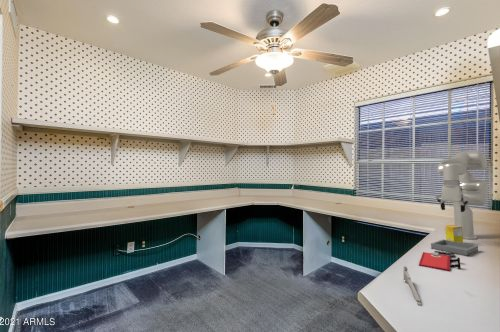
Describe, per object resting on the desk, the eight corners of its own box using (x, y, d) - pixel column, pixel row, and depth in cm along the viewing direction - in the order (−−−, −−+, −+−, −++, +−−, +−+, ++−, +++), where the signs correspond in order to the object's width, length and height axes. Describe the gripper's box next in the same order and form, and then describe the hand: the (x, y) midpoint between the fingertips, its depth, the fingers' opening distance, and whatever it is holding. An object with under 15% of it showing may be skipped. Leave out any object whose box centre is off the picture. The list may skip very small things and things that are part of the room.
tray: (443, 244, 147) (443, 239, 147) (478, 251, 133) (477, 245, 133) (431, 248, 139) (430, 243, 139) (466, 256, 125) (466, 250, 125)
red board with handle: (459, 255, 126) (424, 251, 136) (459, 250, 126) (424, 246, 136) (461, 275, 103) (419, 267, 113) (460, 268, 103) (418, 261, 113)
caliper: (403, 280, 98) (402, 265, 98) (406, 281, 98) (405, 265, 98) (417, 306, 79) (417, 286, 79) (421, 306, 78) (421, 287, 79)
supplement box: (454, 242, 151) (453, 224, 151) (463, 245, 145) (462, 226, 145) (445, 242, 151) (444, 225, 151) (454, 245, 145) (453, 227, 145)
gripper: (471, 183, 144) (473, 212, 143) (437, 182, 159) (438, 208, 158) (466, 183, 140) (468, 213, 139) (432, 183, 155) (433, 209, 154)
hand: (452, 210), depth 149 cm, fingers open, 9 cm apart
